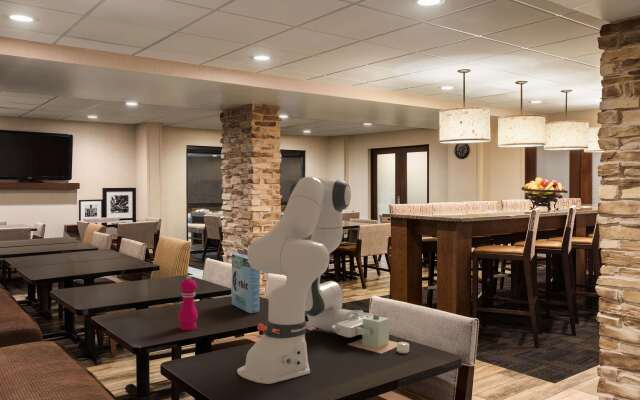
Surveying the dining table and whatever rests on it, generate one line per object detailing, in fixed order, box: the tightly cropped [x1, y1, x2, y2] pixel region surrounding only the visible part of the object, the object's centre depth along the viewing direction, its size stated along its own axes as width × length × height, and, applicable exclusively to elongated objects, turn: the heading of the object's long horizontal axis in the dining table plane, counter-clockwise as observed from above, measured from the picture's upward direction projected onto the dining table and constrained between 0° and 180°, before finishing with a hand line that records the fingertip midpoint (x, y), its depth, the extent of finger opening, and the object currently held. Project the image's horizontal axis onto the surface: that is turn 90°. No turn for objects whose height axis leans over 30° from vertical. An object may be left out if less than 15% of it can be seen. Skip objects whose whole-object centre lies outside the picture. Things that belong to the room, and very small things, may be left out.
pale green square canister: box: [361, 314, 390, 348], centre depth 189 cm, size 7×7×10 cm
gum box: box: [231, 252, 261, 314], centre depth 237 cm, size 20×5×23 cm, turn 32°
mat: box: [347, 338, 398, 354], centre depth 189 cm, size 14×14×1 cm
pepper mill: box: [177, 274, 199, 331], centre depth 204 cm, size 7×7×20 cm
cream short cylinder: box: [396, 341, 410, 354], centre depth 182 cm, size 4×4×3 cm
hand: (378, 329), depth 188 cm, fingers open, 8 cm apart
